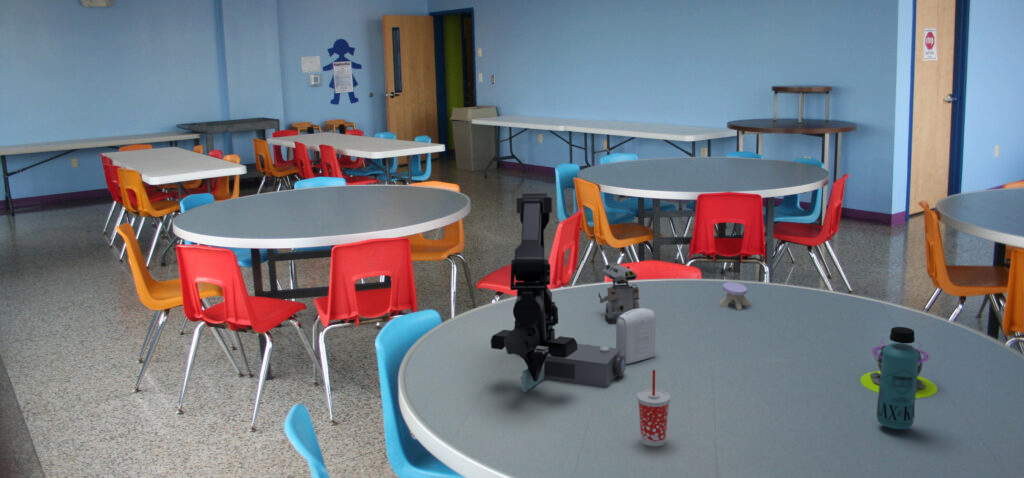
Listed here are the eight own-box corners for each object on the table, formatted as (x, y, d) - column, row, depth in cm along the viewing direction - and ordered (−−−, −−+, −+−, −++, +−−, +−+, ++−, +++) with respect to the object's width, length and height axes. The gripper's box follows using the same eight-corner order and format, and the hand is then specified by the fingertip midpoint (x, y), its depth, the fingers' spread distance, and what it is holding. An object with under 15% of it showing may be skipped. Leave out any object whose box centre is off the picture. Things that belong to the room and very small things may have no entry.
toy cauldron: (844, 379, 177) (847, 331, 175) (894, 367, 183) (897, 321, 180) (902, 404, 163) (906, 353, 161) (953, 390, 169) (958, 340, 167)
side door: (539, 377, 182) (539, 358, 181) (545, 378, 182) (544, 359, 181) (521, 391, 175) (520, 371, 174) (526, 392, 174) (526, 372, 173)
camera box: (539, 378, 183) (538, 352, 181) (555, 362, 192) (555, 338, 190) (614, 388, 175) (614, 362, 174) (627, 372, 184) (627, 346, 183)
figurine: (629, 310, 230) (629, 259, 227) (642, 323, 219) (642, 269, 216) (598, 313, 228) (597, 262, 225) (609, 325, 217) (609, 272, 214)
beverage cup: (662, 451, 147) (663, 379, 144) (631, 443, 150) (631, 373, 147) (674, 437, 152) (675, 367, 149) (644, 430, 155) (644, 362, 152)
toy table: (716, 300, 237) (717, 281, 236) (748, 301, 236) (749, 282, 235) (720, 310, 228) (721, 291, 227) (753, 311, 226) (754, 291, 225)
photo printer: (645, 352, 197) (645, 303, 194) (657, 356, 193) (658, 307, 191) (613, 361, 191) (613, 311, 189) (625, 366, 188) (625, 316, 185)
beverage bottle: (868, 423, 155) (875, 324, 151) (901, 420, 156) (909, 322, 152) (887, 438, 149) (894, 335, 145) (921, 435, 149) (929, 333, 145)
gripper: (474, 317, 170) (479, 387, 173) (551, 326, 160) (555, 400, 163) (502, 304, 180) (506, 370, 182) (576, 311, 170) (580, 381, 172)
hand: (535, 380), depth 175 cm, fingers closed
